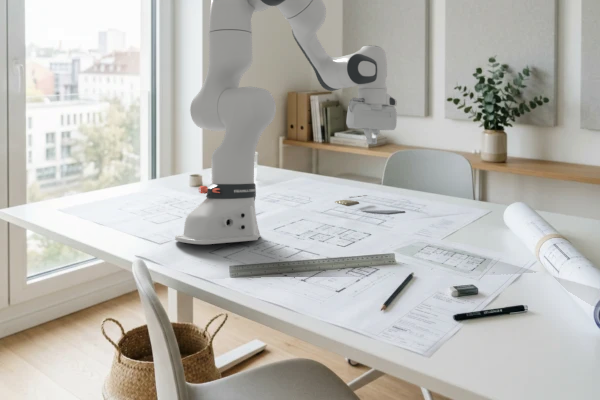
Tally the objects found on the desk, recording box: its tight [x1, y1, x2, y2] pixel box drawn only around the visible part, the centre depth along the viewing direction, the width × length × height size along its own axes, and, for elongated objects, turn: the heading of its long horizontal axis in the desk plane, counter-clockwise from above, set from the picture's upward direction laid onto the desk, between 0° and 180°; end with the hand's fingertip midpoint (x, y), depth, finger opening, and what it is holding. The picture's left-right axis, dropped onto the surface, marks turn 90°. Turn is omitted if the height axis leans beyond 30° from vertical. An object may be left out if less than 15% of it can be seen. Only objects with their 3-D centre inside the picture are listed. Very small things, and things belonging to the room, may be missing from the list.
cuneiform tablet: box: [334, 194, 368, 207], centre depth 198 cm, size 7×4×12 cm
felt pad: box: [362, 209, 406, 215], centre depth 188 cm, size 9×10×1 cm
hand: (371, 143), depth 189 cm, fingers closed
